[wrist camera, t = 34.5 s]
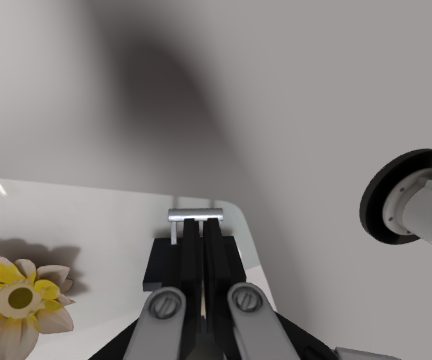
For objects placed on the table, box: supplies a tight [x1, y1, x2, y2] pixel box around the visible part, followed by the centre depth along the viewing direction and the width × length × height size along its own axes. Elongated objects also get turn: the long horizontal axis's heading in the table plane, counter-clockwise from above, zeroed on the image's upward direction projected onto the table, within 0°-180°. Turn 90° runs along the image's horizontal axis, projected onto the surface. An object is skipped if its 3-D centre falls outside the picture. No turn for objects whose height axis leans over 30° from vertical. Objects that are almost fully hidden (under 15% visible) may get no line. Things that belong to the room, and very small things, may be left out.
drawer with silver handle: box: [143, 208, 247, 360], centre depth 28 cm, size 23×11×8 cm, turn 177°
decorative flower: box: [0, 257, 75, 360], centre depth 26 cm, size 15×11×10 cm
